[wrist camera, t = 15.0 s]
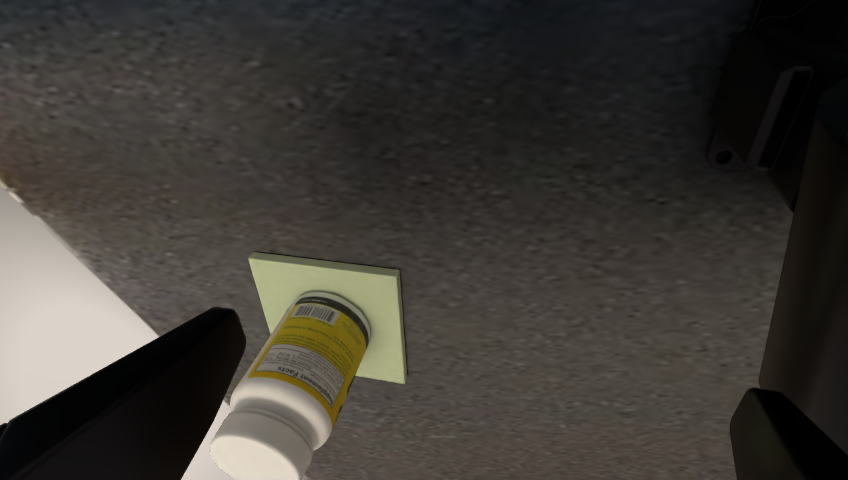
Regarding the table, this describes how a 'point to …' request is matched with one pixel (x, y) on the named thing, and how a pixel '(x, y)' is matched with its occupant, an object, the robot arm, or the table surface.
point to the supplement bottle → (292, 390)
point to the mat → (355, 284)
